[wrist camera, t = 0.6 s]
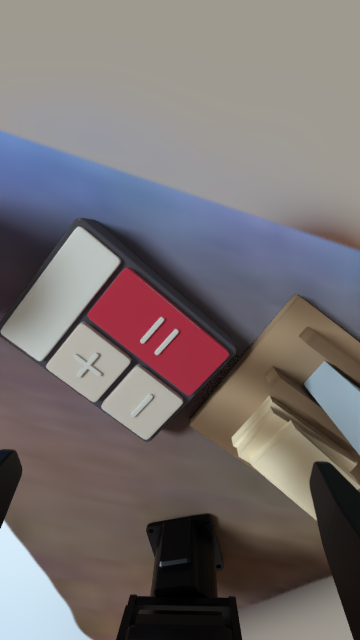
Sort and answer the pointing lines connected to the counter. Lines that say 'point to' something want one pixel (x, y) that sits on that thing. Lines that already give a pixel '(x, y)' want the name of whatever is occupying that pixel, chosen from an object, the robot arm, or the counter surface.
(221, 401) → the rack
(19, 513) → the counter surface
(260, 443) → the offcut stack
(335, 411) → the light blue brick
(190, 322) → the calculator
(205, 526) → the robot arm
